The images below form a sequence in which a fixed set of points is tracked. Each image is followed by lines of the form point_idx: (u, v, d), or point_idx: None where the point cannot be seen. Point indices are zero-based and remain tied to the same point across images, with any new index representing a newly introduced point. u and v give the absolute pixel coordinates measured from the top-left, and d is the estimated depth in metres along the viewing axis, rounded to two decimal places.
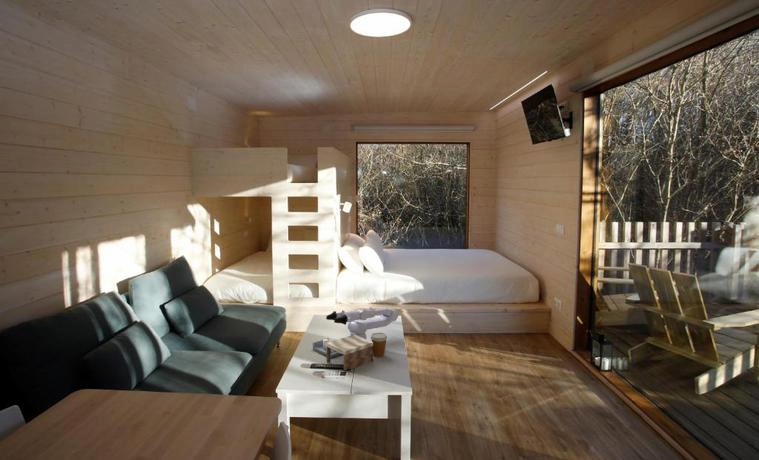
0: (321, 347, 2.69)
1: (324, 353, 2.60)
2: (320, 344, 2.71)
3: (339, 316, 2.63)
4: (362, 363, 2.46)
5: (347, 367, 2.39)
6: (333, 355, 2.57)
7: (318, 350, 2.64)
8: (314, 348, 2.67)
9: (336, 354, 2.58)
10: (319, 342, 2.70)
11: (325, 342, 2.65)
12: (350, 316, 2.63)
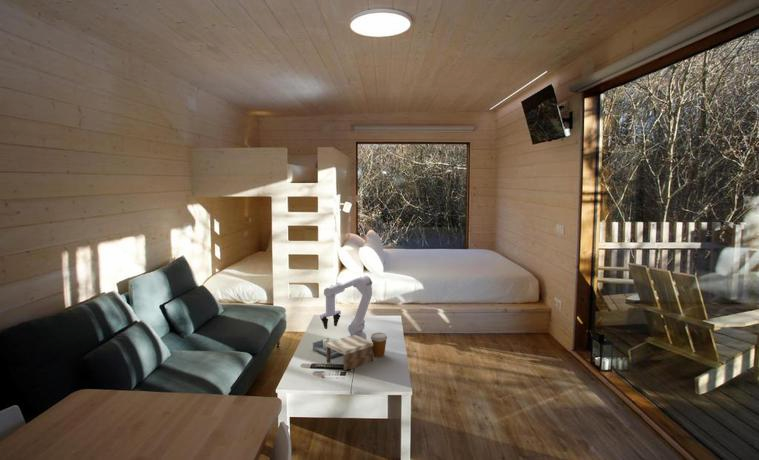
0: (321, 347, 2.69)
1: (324, 353, 2.60)
2: (320, 344, 2.71)
3: (332, 314, 2.80)
4: (362, 363, 2.46)
5: (347, 367, 2.39)
6: (333, 355, 2.57)
7: (318, 350, 2.64)
8: (314, 348, 2.67)
9: (336, 354, 2.58)
10: (319, 342, 2.70)
11: (325, 342, 2.65)
12: (326, 308, 2.77)
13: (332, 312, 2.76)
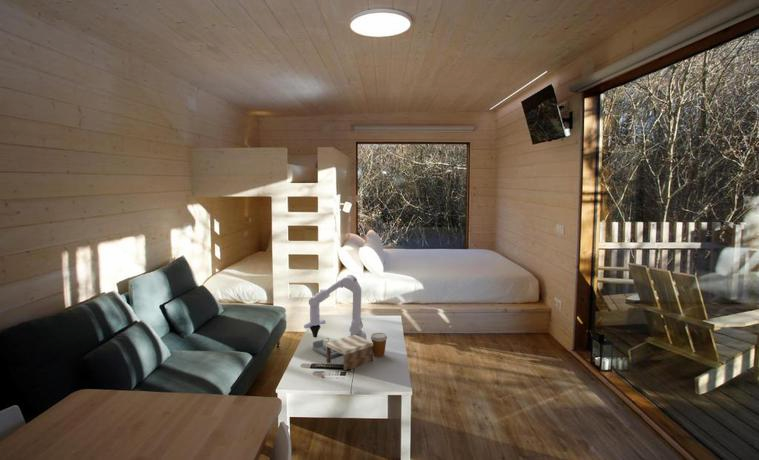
0: (321, 347, 2.69)
1: (324, 353, 2.60)
2: (320, 344, 2.71)
3: None
4: (362, 363, 2.46)
5: (347, 367, 2.39)
6: (333, 355, 2.57)
7: (318, 350, 2.64)
8: (314, 348, 2.67)
9: (336, 354, 2.58)
10: (319, 342, 2.70)
11: (325, 342, 2.65)
12: (310, 318, 2.73)
13: (316, 322, 2.72)
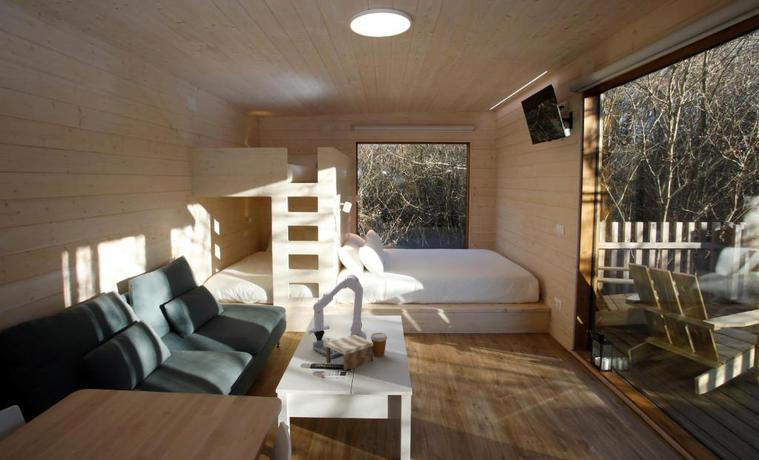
0: (321, 347, 2.69)
1: (324, 353, 2.59)
2: (320, 344, 2.70)
3: None
4: (362, 363, 2.46)
5: (347, 367, 2.39)
6: (333, 355, 2.56)
7: (318, 350, 2.64)
8: (314, 348, 2.67)
9: (336, 354, 2.58)
10: (319, 342, 2.70)
11: (325, 342, 2.65)
12: (314, 323, 2.70)
13: (320, 327, 2.69)
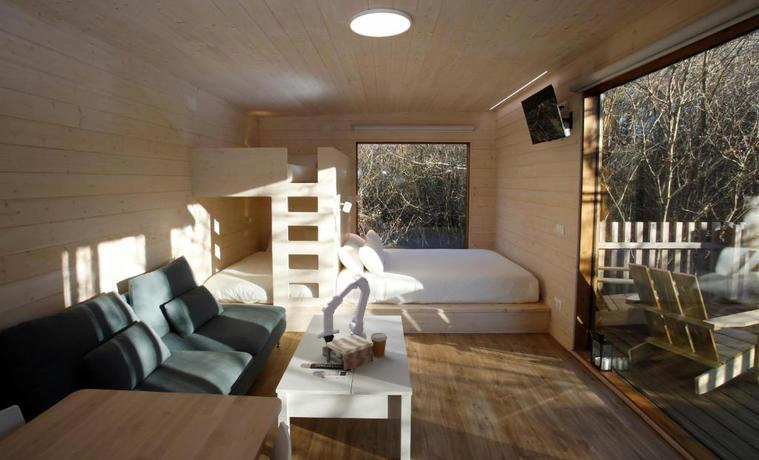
0: (331, 352, 2.61)
1: (334, 358, 2.52)
2: (330, 349, 2.63)
3: None
4: (362, 363, 2.46)
5: (347, 367, 2.39)
6: None
7: None
8: (324, 353, 2.60)
9: None
10: None
11: None
12: None
13: (330, 331, 2.62)
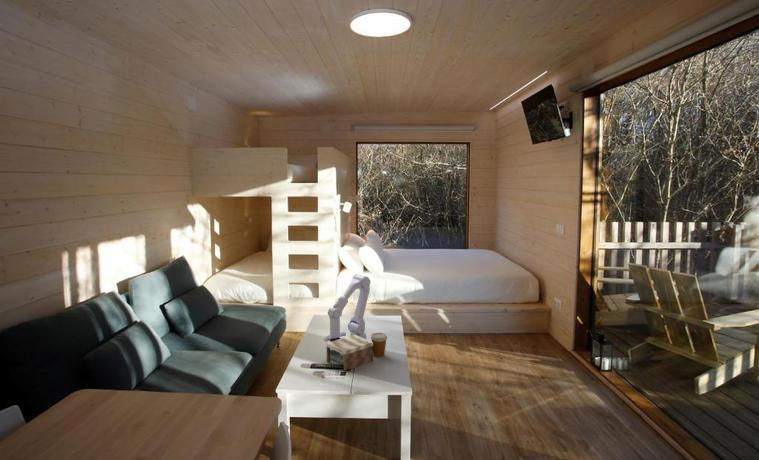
0: (337, 355, 2.57)
1: (341, 362, 2.47)
2: (336, 352, 2.58)
3: None
4: (362, 363, 2.46)
5: (347, 367, 2.39)
6: None
7: (335, 358, 2.52)
8: (330, 356, 2.55)
9: None
10: None
11: None
12: (330, 330, 2.58)
13: (337, 334, 2.57)
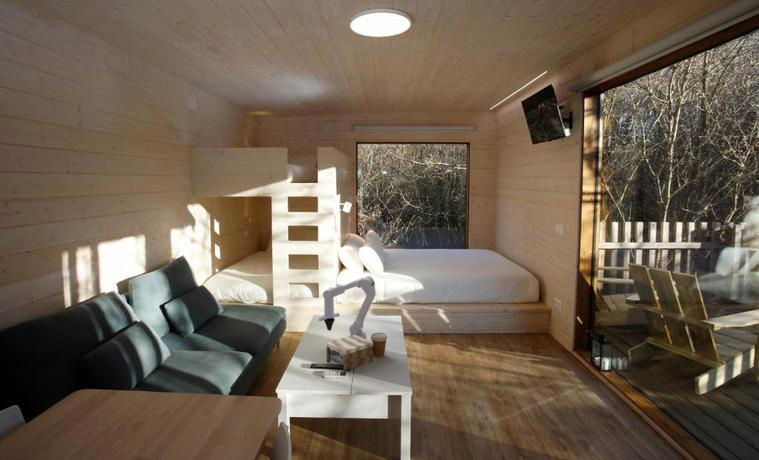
0: (337, 355, 2.57)
1: (341, 362, 2.47)
2: (336, 352, 2.58)
3: None
4: (362, 363, 2.46)
5: (347, 367, 2.39)
6: None
7: (335, 358, 2.52)
8: (330, 356, 2.55)
9: None
10: None
11: None
12: (324, 311, 2.72)
13: (331, 315, 2.71)
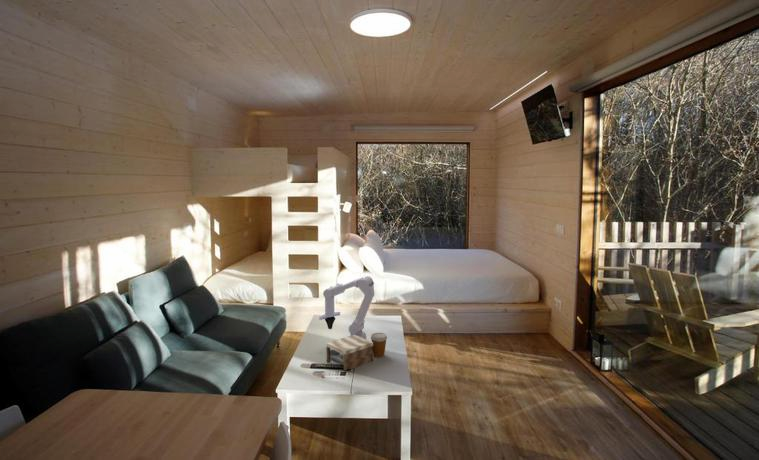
0: (337, 355, 2.57)
1: (341, 362, 2.47)
2: (336, 352, 2.58)
3: None
4: (362, 363, 2.46)
5: (347, 367, 2.39)
6: None
7: (335, 358, 2.52)
8: (330, 356, 2.55)
9: None
10: None
11: None
12: (325, 309, 2.74)
13: (331, 313, 2.74)
